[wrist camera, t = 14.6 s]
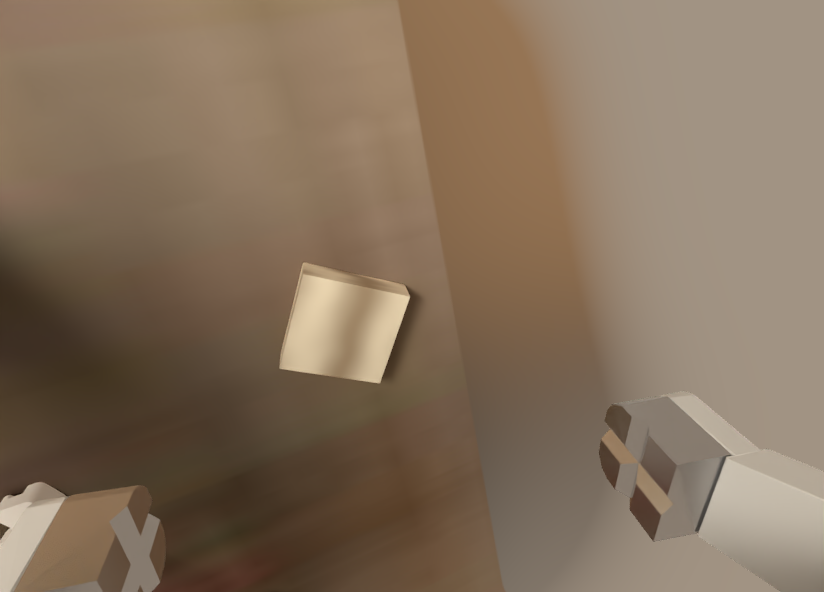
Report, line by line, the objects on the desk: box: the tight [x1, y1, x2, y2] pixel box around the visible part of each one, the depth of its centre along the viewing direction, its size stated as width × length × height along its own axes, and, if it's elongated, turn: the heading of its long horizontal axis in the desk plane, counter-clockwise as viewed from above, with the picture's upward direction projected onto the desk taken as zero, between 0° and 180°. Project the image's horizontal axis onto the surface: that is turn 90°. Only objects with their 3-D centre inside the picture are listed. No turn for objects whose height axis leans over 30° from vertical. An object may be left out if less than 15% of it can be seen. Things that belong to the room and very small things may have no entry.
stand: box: [279, 262, 410, 383], centre depth 41 cm, size 9×9×2 cm
